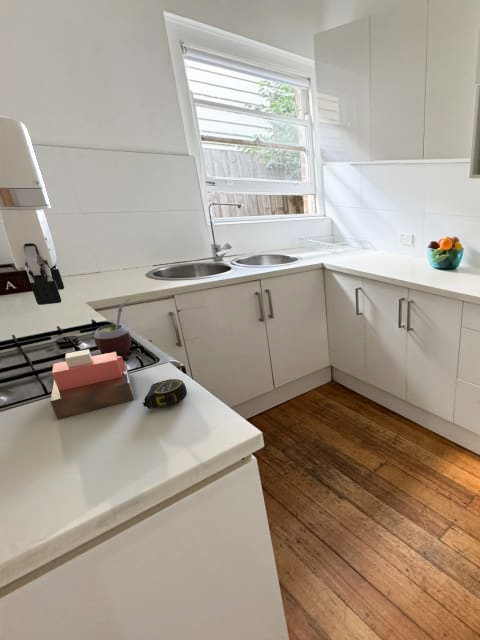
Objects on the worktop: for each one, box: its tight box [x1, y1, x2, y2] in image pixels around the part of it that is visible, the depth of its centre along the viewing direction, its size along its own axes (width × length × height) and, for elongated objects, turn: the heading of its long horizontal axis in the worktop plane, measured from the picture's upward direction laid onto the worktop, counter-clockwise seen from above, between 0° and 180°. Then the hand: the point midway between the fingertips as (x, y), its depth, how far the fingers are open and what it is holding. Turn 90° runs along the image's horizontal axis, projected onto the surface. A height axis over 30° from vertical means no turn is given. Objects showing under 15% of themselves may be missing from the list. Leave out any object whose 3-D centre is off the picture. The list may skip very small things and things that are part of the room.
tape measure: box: [141, 378, 188, 410], centre depth 78 cm, size 7×7×4 cm
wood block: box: [49, 360, 135, 420], centre depth 79 cm, size 12×12×4 cm
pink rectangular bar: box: [51, 348, 126, 391], centre depth 77 cm, size 11×5×6 cm, turn 128°
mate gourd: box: [93, 297, 133, 361], centre depth 93 cm, size 8×8×15 cm
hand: (52, 296), depth 71 cm, fingers open, 9 cm apart
